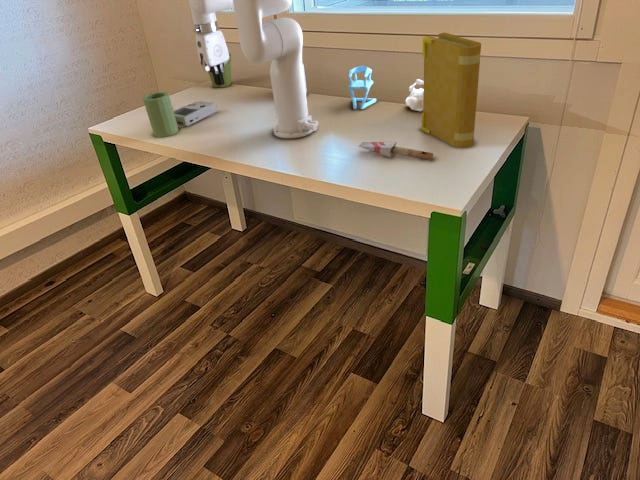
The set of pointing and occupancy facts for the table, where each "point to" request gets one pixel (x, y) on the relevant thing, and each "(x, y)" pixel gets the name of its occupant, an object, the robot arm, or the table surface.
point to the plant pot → (224, 74)
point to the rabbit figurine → (416, 96)
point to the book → (450, 88)
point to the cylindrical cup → (160, 114)
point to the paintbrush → (394, 150)
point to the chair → (361, 86)
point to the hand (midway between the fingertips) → (220, 84)
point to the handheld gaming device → (194, 112)
